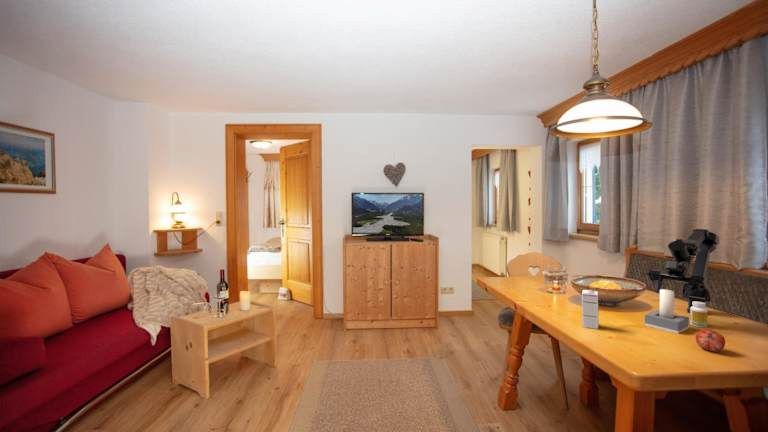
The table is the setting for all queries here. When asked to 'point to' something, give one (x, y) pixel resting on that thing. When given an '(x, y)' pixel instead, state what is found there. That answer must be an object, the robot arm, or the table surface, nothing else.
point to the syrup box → (590, 309)
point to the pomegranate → (710, 340)
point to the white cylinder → (666, 304)
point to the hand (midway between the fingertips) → (670, 294)
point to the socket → (667, 322)
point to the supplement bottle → (698, 314)
